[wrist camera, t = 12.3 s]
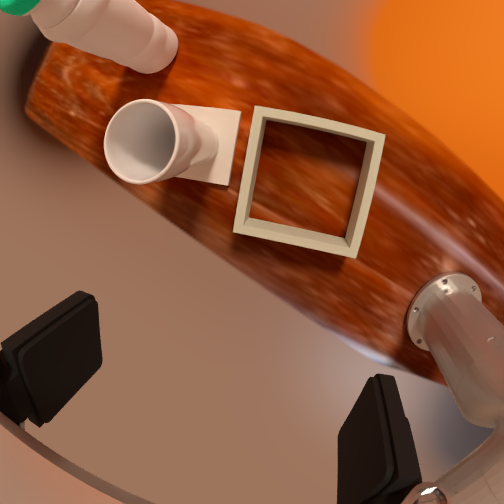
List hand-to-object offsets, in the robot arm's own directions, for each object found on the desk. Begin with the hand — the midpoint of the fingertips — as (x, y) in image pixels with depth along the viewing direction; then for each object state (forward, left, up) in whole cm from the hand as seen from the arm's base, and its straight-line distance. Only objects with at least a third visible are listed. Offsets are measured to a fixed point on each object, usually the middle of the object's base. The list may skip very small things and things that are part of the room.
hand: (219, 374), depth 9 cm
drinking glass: (+11, -6, -29) cm, 31 cm away
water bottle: (+19, -18, -30) cm, 40 cm away
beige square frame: (-3, -4, -29) cm, 30 cm away
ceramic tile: (+11, -6, -29) cm, 32 cm away
